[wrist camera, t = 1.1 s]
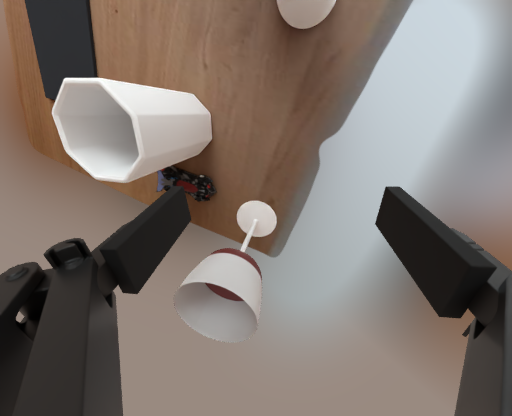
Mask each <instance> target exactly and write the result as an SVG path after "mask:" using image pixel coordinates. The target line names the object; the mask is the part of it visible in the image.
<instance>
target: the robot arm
mask: <svg viewBox="0 0 512 416" xmlns="http://www.w3.org/2000/svg"><path fill="white" fill-rule="evenodd" d="M190 221H191V216H190V212H189V208H188V204H187V199H186V195H185V191H184V187H183V186H172V187H171V188H170V189H169V190H168V191H167V192H165V193H164V194H163V195H162V196H161V197H160V198H158V199H157V200H156V201H155V202H154V203H152V204H151V205H150V206H149V207H148V208H147V209H145V210H144V211H143V212H142V213H141V214H140V215H138V216H137V217H136V218H135V219H134V220H132V221H131V222H129V223H127V224H125V225H123V226H122V227H121V228H119V229H118V230H117V231H116V233H113V234H112V235H111V236H110V237H109V238H107V239H106V240H105V241H104V242H103V243H101V244H100V245H99V246H98V247H97V248H95V249H94V250H93V251H92V252H90V250H89V249H88V247H87V245H86V243H85V242H84V240H83V239H80V238H74V239H69V240H66V241H63V242H60V243H58V244H56V245H54V246H52V247H51V248H49V249H48V250H47V251H46V252H45V253H44V256H45V258H46V259H47V260H48V262H49V263H50V264H51V266H52V267H53V268H52V269H47V270H42V269H41V267H40V266H39V265H38V263H36V262H29V263H24V264H21V265H17V266H15V267H12V268H10V269H8V270H7V271H6V272H4V273H2V274H1V275H0V416H123V408H122V391H121V375H120V359H119V343H118V327H117V310H116V296H115V294H114V292H113V290H114V289H115V288H116V287H117V285H119V287H120V289H121V290H122V292H123V293H130V294H138V293H139V291H140V290H141V288H142V287H143V286H144V284H145V283H146V281H147V280H148V278H149V277H150V276H151V275H152V273H153V272H154V271H155V269H156V267H157V266H158V265H159V264H160V262H161V261H162V259H163V258H164V257H165V255H166V254H167V253H168V251H169V250H170V248H171V247H172V246H173V244H174V243H175V241H176V240H177V239H178V237H179V236H180V234H181V233H182V231H183V230H184V229H185V228H186V226H187V225H188V224H189V222H190ZM375 224H376V226H377V227H378V229H379V230H380V231H381V233H382V235H383V236H384V237H385V239H386V240H387V242H388V243H389V245H390V246H391V247H392V249H393V251H394V252H395V253H396V255H397V256H398V258H399V259H400V261H401V262H402V264H403V265H404V266H405V268H406V269H407V271H408V272H409V274H410V275H411V277H412V278H413V279H414V281H415V282H416V284H417V285H418V287H419V288H420V290H421V291H422V293H423V294H424V296H425V297H426V298H427V300H428V301H429V303H430V304H431V306H432V307H433V309H434V310H435V311H436V313H437V314H438V316H439V317H449V318H461V317H462V316H463V314H464V313H465V311H466V310H467V309H469V310H470V311H471V312H472V314H473V315H474V316H475V317H476V318H475V319H474V320H473V321H472V323H471V324H470V325H469V327H468V328H467V329H466V330H465V332H464V333H463V334H462V335H463V336H465V337H466V336H467V335H468V334H469V338H468V344H467V349H466V355H465V360H464V366H463V371H462V377H461V382H460V388H459V393H458V399H457V405H456V410H455V416H512V271H511V270H510V269H508V268H507V267H506V266H505V265H503V264H502V263H501V262H500V261H498V260H497V259H496V258H495V257H493V256H492V255H491V254H490V253H488V252H487V251H484V249H483V248H482V247H481V246H479V245H478V244H476V243H475V242H474V241H473V240H472V239H470V238H469V237H468V236H467V235H465V234H463V233H461V232H459V231H457V230H455V229H453V228H449V227H448V226H446V225H445V224H444V223H442V221H440V220H439V219H438V218H437V217H435V216H434V215H433V214H432V213H431V212H429V211H428V210H427V209H426V208H425V207H423V206H422V205H421V204H420V203H418V202H417V201H416V200H415V199H414V198H412V197H411V196H410V195H409V194H408V193H406V192H405V191H404V190H403V189H402V188H400V187H386V188H385V191H384V195H383V198H382V202H381V205H380V209H379V213H378V216H377V220H376V223H375ZM19 311H20V312H21V313H22V314H23V315H24V316H25V317H24V318H23V320H22V321H21V322H20V323H19V322H18V321H16V316H17V314H18V312H19Z"/></svg>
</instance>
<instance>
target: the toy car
mask: <svg viewBox="0 0 512 416" xmlns="http://www.w3.org/2000/svg"><path fill="white" fill-rule="evenodd" d="M157 172H158V187H157V191H156V192H159V191H161V190H162V189H163V188H164V190H166V191H168V190H169V189H170V188H171V187H172V186H183V187H184V191H185V192H186V193H188V194H190V195H191V196H192V197H194V198H195V200H198V201H208V200H210V199H209V197H210V196H212V195H214V194H215V193H216V192H217V191H216V189H215V188H214V186H213V185H212V184H211V182H213V181H212V180H211V179H210V178H209V177H207V178H206V176H205V175H199V176H197V175H194V174H191V173H189V172H186V171H183V170H179V169H177V168H175V167H174V166H172V165H171V166H168V167H166V168H163V169H162V170H158V171H157Z"/></svg>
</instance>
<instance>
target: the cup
mask: <svg viewBox="0 0 512 416" xmlns="http://www.w3.org/2000/svg"><path fill="white" fill-rule="evenodd" d="M52 115H53V118H54V121H55V124H56V126H57V129H58V132H59V135H60V138H61V140H62V143H63V146H64V149H65V151H66V152H67V154H68V155H70V156H71V157H72V158H73V159H74V160H75V161H76V162H77V163H78V164H79V165H80V166H82V167H83V168H84V169H85V170H86V171H87V172H88V173H89V174H90V175H91V176H92V177H94V178H95V179H97V180H102V181H111V182H120V183H128V182H131V181H133V180H136V179H138V178H141V177H143V176H146V175H148V174H151V173H153V172H156V171H158V170H161V169H163V168H166V167H168V166H171V165H173V164H176V163H178V162H181V161H184V160H186V159H189V158H191V157H194V156H196V155H199V154H200V153H201V152H202V150H203V149H204V148H205V147H206V146H207V145H208V144H209V143H210V141H211V140H212V127H211V114H210V112H209V111H208V110H207V109H206V108H205V107H204V106H203V105H202V103H201V102H200V101H199V100H198V99H197V98H196V97H195V95H194V94H191V93H185V92H179V91H173V90H167V89H161V88H155V87H150V86H144V85H138V84H132V83H126V82H120V81H114V80H109V79H103V78H65V79H64V80H63V83H62V85H61V88H60V91H59V93H58V96H57V98H56V101H55V104H54V106H53V109H52Z"/></svg>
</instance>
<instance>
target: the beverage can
mask: <svg viewBox="0 0 512 416" xmlns="http://www.w3.org/2000/svg"><path fill="white" fill-rule="evenodd" d="M276 1H277V5H278V8H279V11H280V14H281V15H282V17H283V19H284V20H285V21H286V22H287V23H288V24H289V25H291V26H293V27H295V28H299V29H306V28H311V27H313V26H315V25H317V24H319V23H320V22H321V21H322V20H324V19H325V18H326V17H327V15H328V14H329V13H330V11H331V10H332V8H333V6H334V5H335V2H336V0H276Z"/></svg>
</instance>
